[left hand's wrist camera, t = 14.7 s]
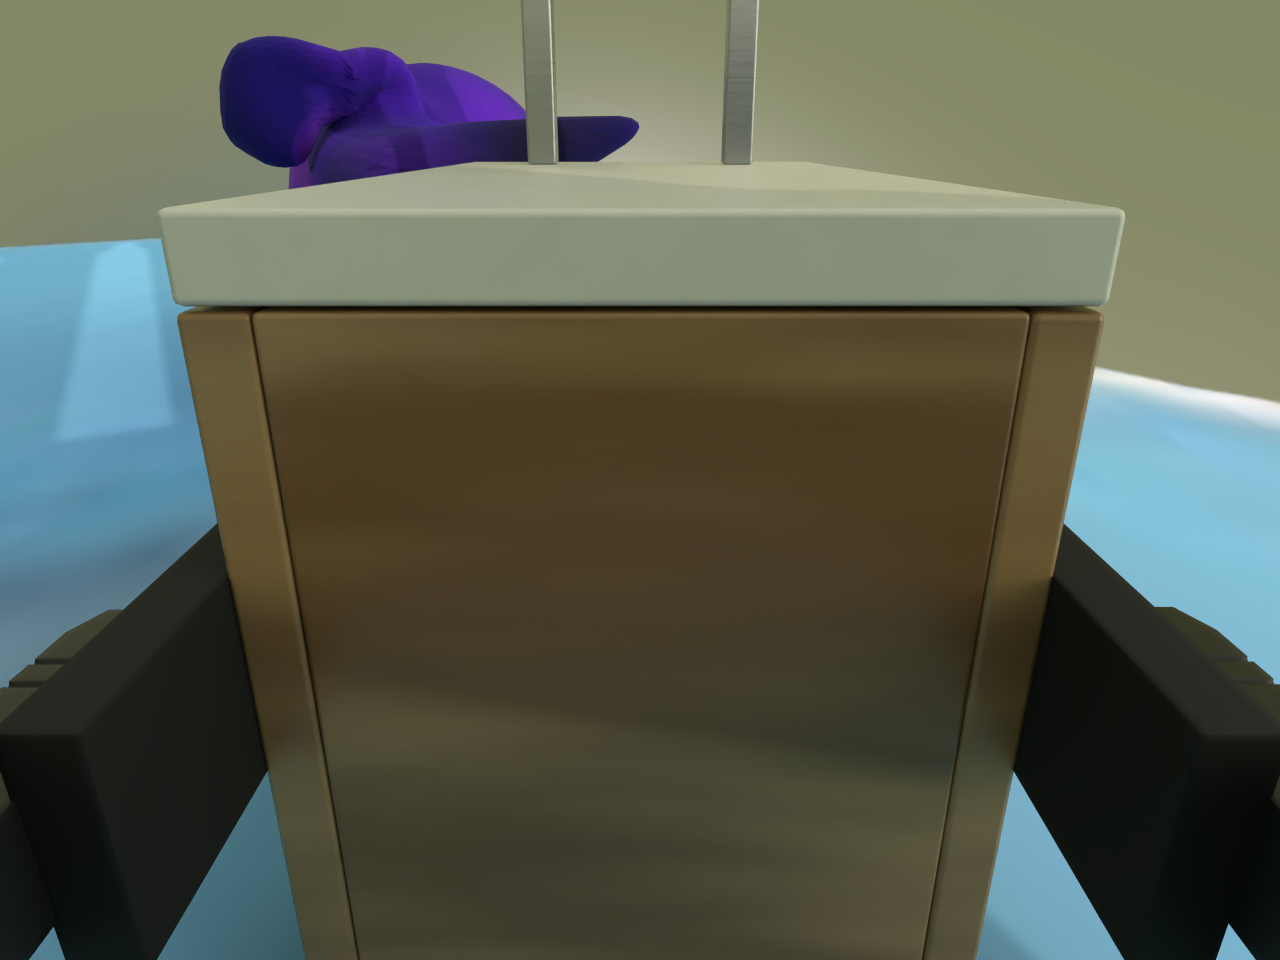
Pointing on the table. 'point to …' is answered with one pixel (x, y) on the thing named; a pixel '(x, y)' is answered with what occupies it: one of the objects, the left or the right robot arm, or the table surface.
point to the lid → (640, 228)
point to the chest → (640, 615)
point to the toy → (380, 114)
